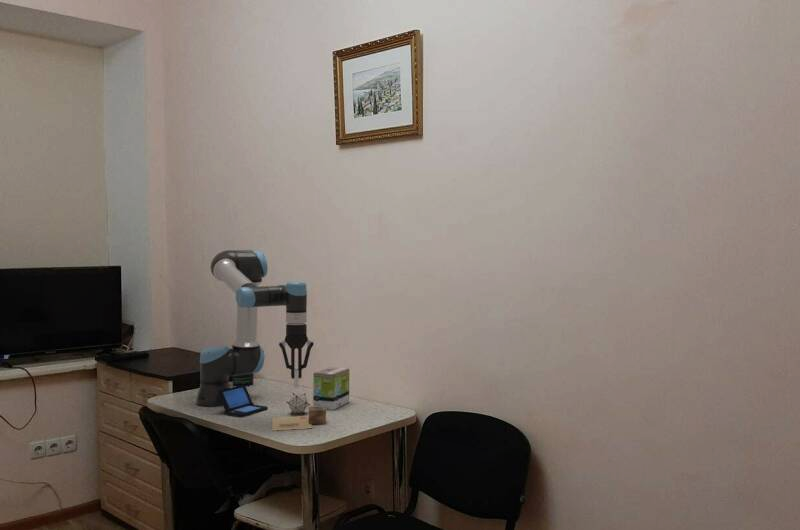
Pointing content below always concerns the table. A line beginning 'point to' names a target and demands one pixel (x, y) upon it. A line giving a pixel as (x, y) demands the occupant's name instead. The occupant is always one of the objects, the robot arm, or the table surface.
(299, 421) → the envelope
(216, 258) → the robot arm
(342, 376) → the tea box
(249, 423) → the table surface
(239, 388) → the handheld game console
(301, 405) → the grey spiky ornament
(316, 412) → the walnut block
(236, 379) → the storage jar
